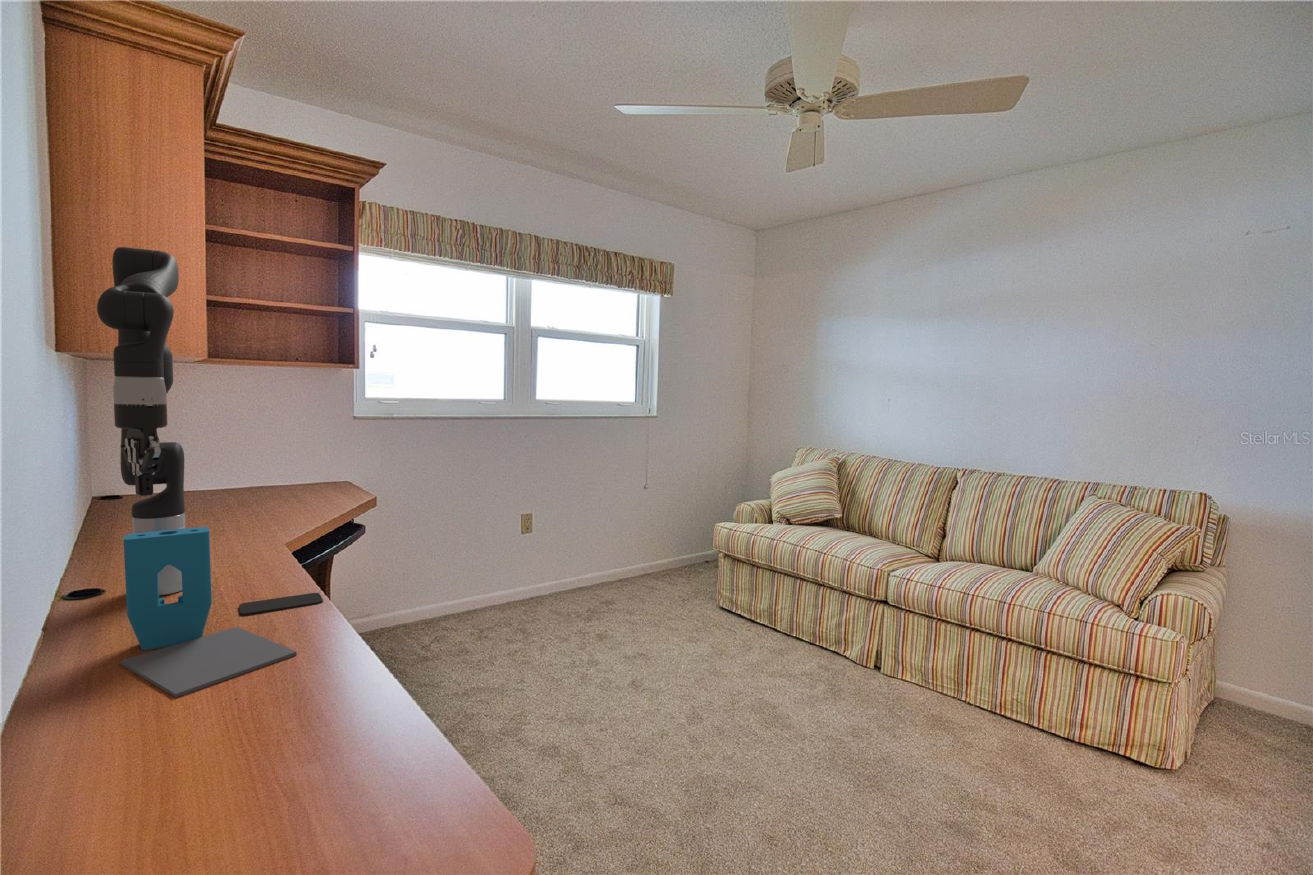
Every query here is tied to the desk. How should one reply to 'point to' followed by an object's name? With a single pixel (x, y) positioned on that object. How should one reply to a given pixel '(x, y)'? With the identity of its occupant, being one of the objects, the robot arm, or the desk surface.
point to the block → (142, 566)
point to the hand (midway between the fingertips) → (144, 494)
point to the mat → (206, 660)
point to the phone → (279, 604)
